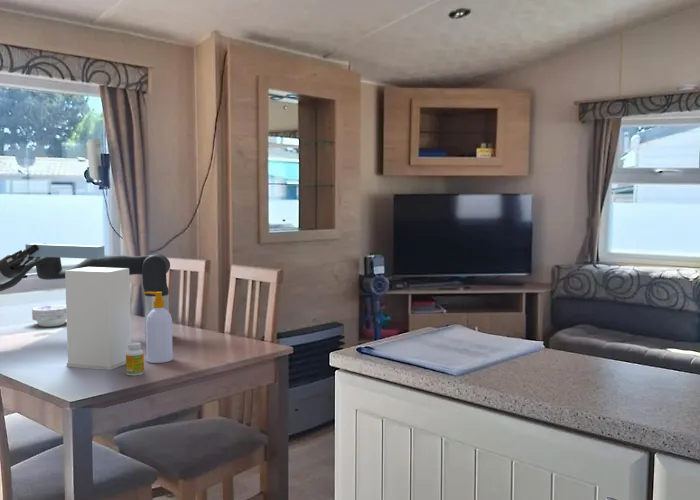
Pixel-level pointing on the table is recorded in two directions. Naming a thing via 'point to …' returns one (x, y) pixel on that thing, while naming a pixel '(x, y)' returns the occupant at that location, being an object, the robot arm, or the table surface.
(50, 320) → the paper bowls
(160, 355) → the soap bottle
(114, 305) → the storage box
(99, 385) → the table surface
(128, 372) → the supplement bottle
